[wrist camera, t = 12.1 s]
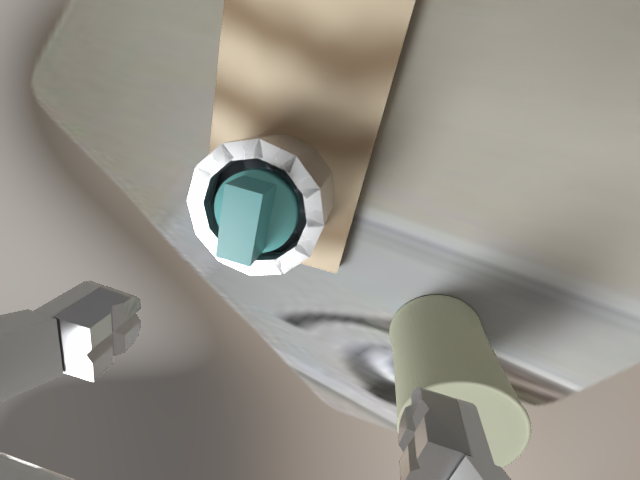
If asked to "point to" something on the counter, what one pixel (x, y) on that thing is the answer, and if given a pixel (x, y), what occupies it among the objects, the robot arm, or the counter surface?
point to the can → (457, 369)
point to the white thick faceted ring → (288, 161)
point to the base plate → (311, 87)
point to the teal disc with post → (254, 214)
